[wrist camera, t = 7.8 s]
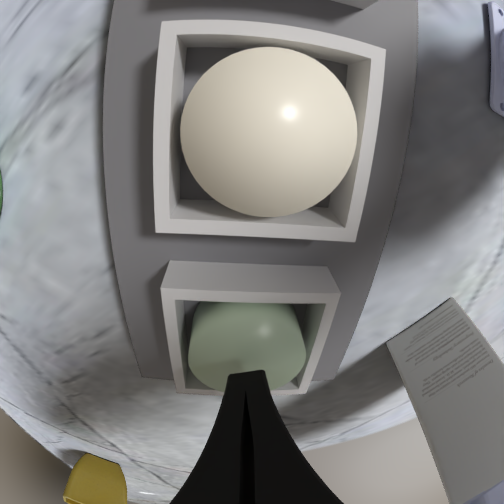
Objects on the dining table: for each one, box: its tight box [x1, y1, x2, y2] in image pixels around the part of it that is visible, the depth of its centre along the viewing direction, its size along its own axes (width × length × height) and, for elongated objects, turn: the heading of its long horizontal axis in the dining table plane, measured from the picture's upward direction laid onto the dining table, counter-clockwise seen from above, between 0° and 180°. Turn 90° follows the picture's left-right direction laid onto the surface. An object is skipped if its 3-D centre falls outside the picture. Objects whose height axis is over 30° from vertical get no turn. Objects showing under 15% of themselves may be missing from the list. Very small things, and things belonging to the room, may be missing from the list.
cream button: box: [180, 47, 357, 217], centre depth 8 cm, size 5×5×2 cm
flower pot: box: [63, 453, 127, 504], centre depth 25 cm, size 9×9×9 cm
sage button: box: [188, 301, 306, 392], centre depth 13 cm, size 5×5×2 cm
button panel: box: [103, 0, 418, 396], centre depth 10 cm, size 12×28×4 cm, turn 175°
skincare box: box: [386, 298, 504, 504], centre depth 13 cm, size 8×7×16 cm
